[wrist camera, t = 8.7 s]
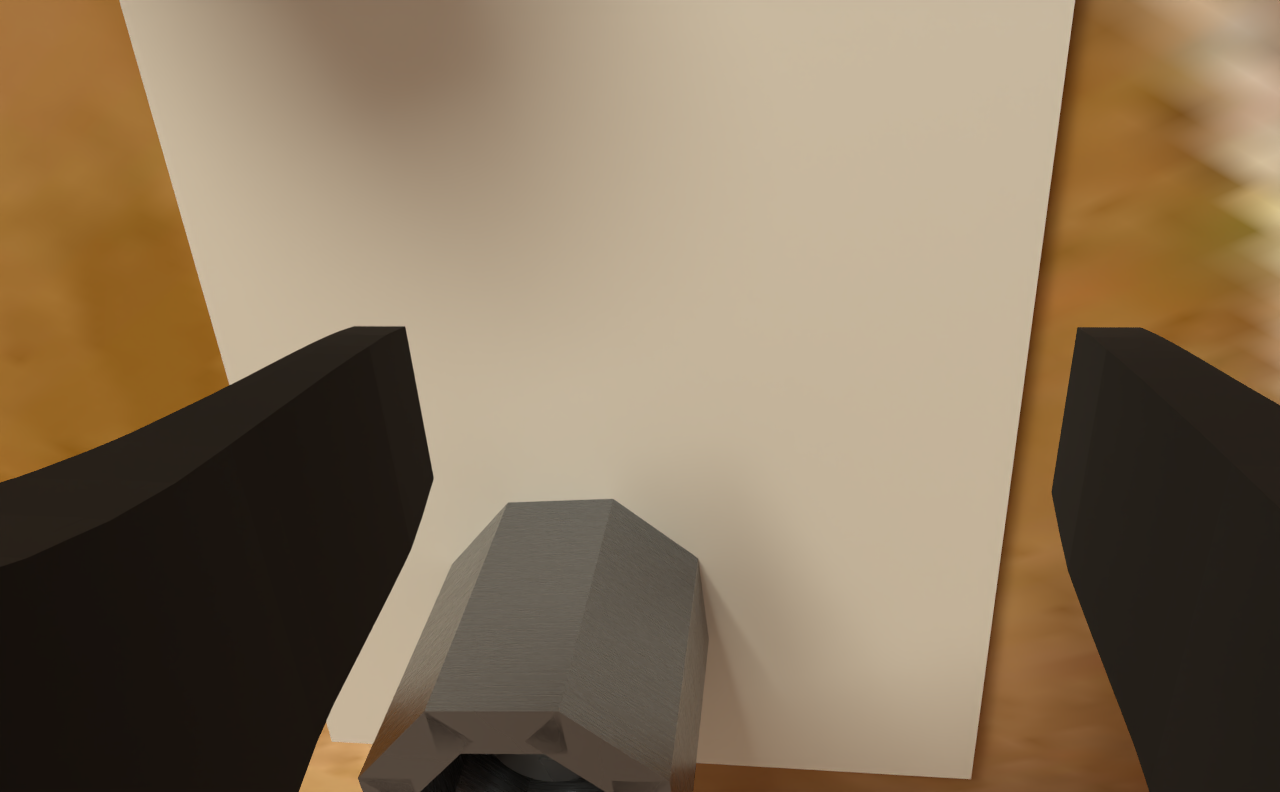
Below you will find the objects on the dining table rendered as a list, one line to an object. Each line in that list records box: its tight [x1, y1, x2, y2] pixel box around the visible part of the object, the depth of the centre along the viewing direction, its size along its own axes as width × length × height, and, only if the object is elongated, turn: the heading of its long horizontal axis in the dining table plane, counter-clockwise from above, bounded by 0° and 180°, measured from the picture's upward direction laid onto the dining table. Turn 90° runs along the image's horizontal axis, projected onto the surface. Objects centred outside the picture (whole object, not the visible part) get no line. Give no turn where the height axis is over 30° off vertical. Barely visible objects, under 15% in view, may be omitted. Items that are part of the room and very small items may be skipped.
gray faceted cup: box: [358, 499, 709, 792], centre depth 22 cm, size 6×6×6 cm
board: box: [119, 0, 1075, 779], centre depth 22 cm, size 16×22×1 cm
